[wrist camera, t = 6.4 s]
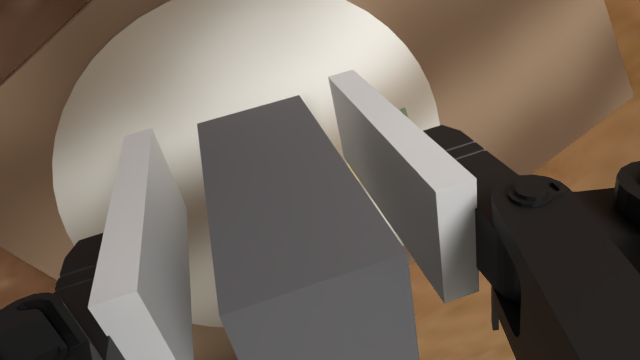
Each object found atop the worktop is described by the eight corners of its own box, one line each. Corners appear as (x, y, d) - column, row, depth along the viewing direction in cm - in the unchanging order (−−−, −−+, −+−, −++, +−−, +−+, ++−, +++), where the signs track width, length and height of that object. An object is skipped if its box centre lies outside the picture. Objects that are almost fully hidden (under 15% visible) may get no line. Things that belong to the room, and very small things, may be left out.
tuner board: (-54, 132, 18) (-113, 190, 14) (419, -304, 15) (498, -372, 11) (235, 328, 26) (245, 396, 22) (568, 69, 24) (640, 98, 20)
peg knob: (268, 294, 20) (347, 610, 11) (190, 65, 15) (219, 315, 6) (417, 244, 21) (605, 499, 12) (395, 11, 15) (706, 152, 6)
